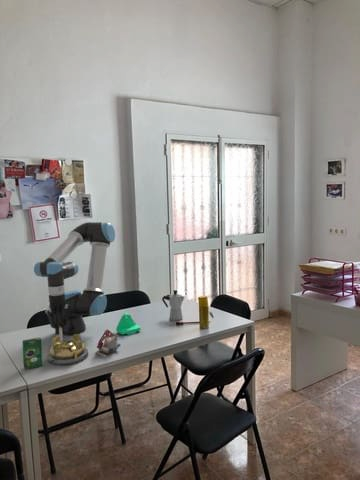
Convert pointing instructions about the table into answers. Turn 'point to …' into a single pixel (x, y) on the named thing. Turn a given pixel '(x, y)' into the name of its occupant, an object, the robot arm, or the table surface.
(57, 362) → the index base
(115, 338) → the brake caliper
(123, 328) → the camera mount
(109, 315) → the table surface
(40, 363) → the coffee box
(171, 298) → the coffee maker
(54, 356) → the brass finned hub
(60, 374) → the table surface
